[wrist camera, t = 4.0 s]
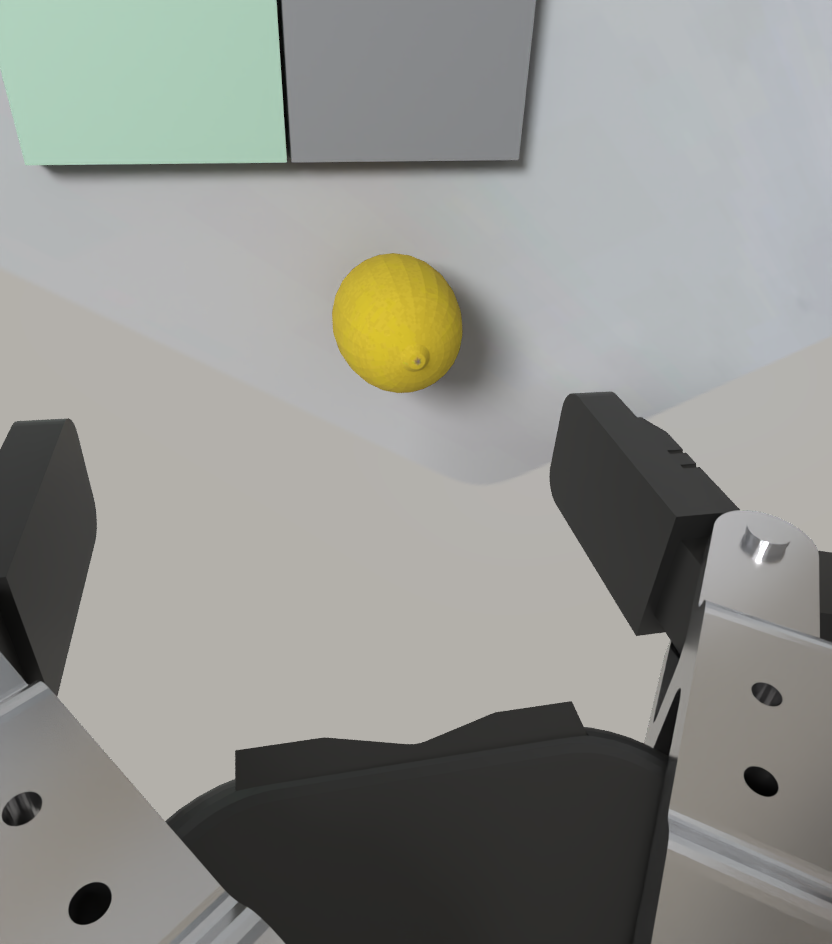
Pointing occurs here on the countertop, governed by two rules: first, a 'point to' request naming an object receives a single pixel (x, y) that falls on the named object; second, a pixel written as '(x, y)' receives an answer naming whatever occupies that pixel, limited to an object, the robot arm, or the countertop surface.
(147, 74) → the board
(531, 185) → the countertop surface
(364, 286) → the lemon
